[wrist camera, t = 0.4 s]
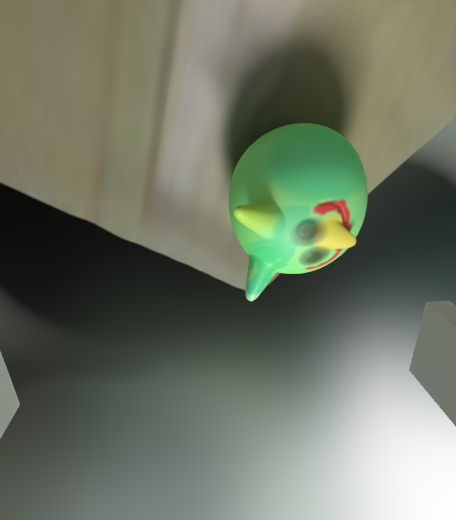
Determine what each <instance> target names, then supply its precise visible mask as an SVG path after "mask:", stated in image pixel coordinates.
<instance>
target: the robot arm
mask: <svg viewBox="0 0 456 520" xmlns="http://www.w3.org/2000/svg"><path fill="white" fill-rule="evenodd" d="M409 370H410V371H411V373H412V374H413V375H414V376H415V378H416V379H417V380H418V381H419V382H420V384H421V385H422V386H423V387H424V389H425V390H426V391H427V392H428V393H429V394H430V396H431V397H432V398H433V399H434V401H435V402H436V403H437V404H438V405H439V406H440V408H441V409H442V410H443V411H444V413H445V414H446V415H447V416H448V417H449V419H450V420H451V421H452V422H453V423H454V425H455V426H456V306H455V305H454V304H452V303H451V302H450V301H441V302H427V303H426V305H425V309H424V313H423V317H422V321H421V325H420V329H419V333H418V337H417V341H416V345H415V349H414V353H413V357H412V361H411V365H410V369H409ZM19 405H20V403H19V401H18V398H17V395H16V392H15V390H14V387H13V384H12V382H11V379H10V376H9V374H8V371H7V368H6V365H5V363H4V360H3V357H2V354H1V352H0V438H1V436H2V435H3V433H4V431H5V429H6V428H7V426H8V424H9V422H10V421H11V419H12V417H13V416H14V414H15V412H16V410H17V409H18V407H19Z"/></svg>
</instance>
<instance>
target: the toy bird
mask: <svg viewBox="0 0 456 520" xmlns="http://www.w3.org/2000/svg"><path fill="white" fill-rule="evenodd" d="M366 207H367V181H366V176H365V171H364V168H363V165H362V162H361V160H360V157H359V155H358V154H357V152H356V150H355V149H354V147H353V146H352V145H351V143H350V142H349V141H348V140H347V139H346V138H345V137H344V136H342V135H341V134H340V133H338V132H336V131H335V130H333V129H330V128H328V127H325V126H322V125H318V124H312V123H296V124H289V125H285V126H282V127H279V128H276V129H274V130H272V131H270V132H268V133H266V134H265V135H263V136H261V137H260V138H259V139H257V140H256V141H255V142H254V143H253V144H252V145H251V146H250V147H249V148H248V149H247V150H246V151H245V152H244V154H243V155H242V157H241V158H240V160H239V161H238V163H237V165H236V168H235V170H234V173H233V176H232V179H231V184H230V190H229V210H230V217H231V222H232V225H233V229H234V231H235V234H236V236H237V238H238V240H239V242H240V244H241V246H242V247H243V249H244V250H245V251H246V252H247V254H248V255H249V266H248V274H247V281H246V297H247V299H248V300H249V301H253V300H255V299H256V298H257V297H258V296H259V295H260V293H261V292H262V291H263V289H264V288H265V287H266V285H267V284H268V282H269V281H270V280H271V278H272V277H273V276H274V274H275V273H276V272H280V273H288V274H297V273H306V272H310V271H314V270H316V269H319V268H321V267H323V266H325V265H327V264H329V263H331V262H332V261H334V260H335V259H336V258H337V257H339V256H340V255H341V254H343V252H344V251H346V249H347V248H348V247H351V246H353V245H355V243H356V238H355V237H356V236H357V234H358V232H359V230H360V228H361V225H362V223H363V220H364V216H365V212H366Z"/></svg>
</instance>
